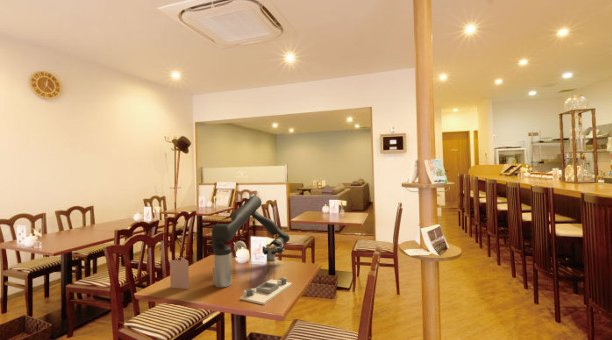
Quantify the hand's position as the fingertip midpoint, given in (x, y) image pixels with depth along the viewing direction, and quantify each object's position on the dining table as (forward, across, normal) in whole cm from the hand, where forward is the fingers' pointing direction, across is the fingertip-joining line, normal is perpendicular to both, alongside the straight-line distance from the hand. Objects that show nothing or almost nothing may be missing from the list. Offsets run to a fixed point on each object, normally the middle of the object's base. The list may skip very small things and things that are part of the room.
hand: (269, 253), depth 172 cm
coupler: (-3, 0, +6) cm, 7 cm away
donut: (-48, -35, +15) cm, 61 cm away
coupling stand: (+17, +3, +15) cm, 23 cm away
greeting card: (+15, -46, +16) cm, 51 cm away
